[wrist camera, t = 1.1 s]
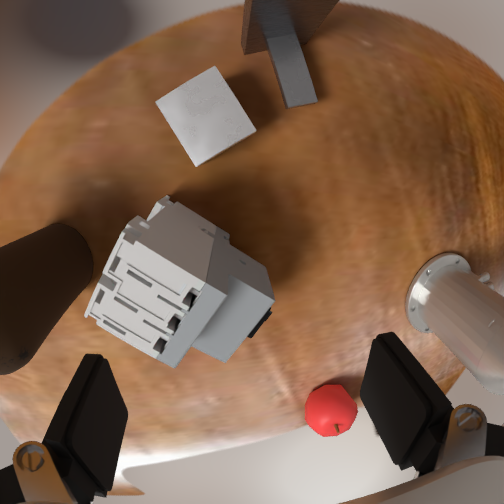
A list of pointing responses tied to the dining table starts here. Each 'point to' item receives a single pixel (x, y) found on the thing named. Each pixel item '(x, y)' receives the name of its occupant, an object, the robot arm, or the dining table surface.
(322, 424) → the apple
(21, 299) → the olive oil
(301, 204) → the dining table surface
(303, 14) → the grey l-shaped bracket part
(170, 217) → the circuit breaker
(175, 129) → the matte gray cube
